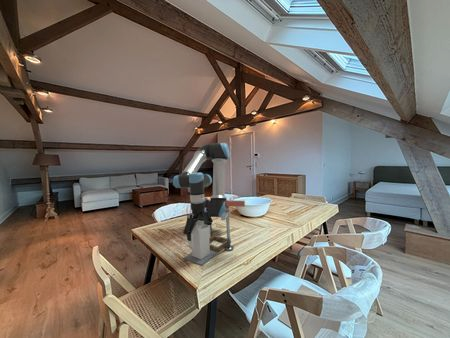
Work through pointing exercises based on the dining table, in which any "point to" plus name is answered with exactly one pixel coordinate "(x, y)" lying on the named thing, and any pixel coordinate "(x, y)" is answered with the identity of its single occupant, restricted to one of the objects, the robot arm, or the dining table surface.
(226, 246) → the base
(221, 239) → the frame
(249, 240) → the dining table surface
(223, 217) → the signpost
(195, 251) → the milk carton
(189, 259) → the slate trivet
